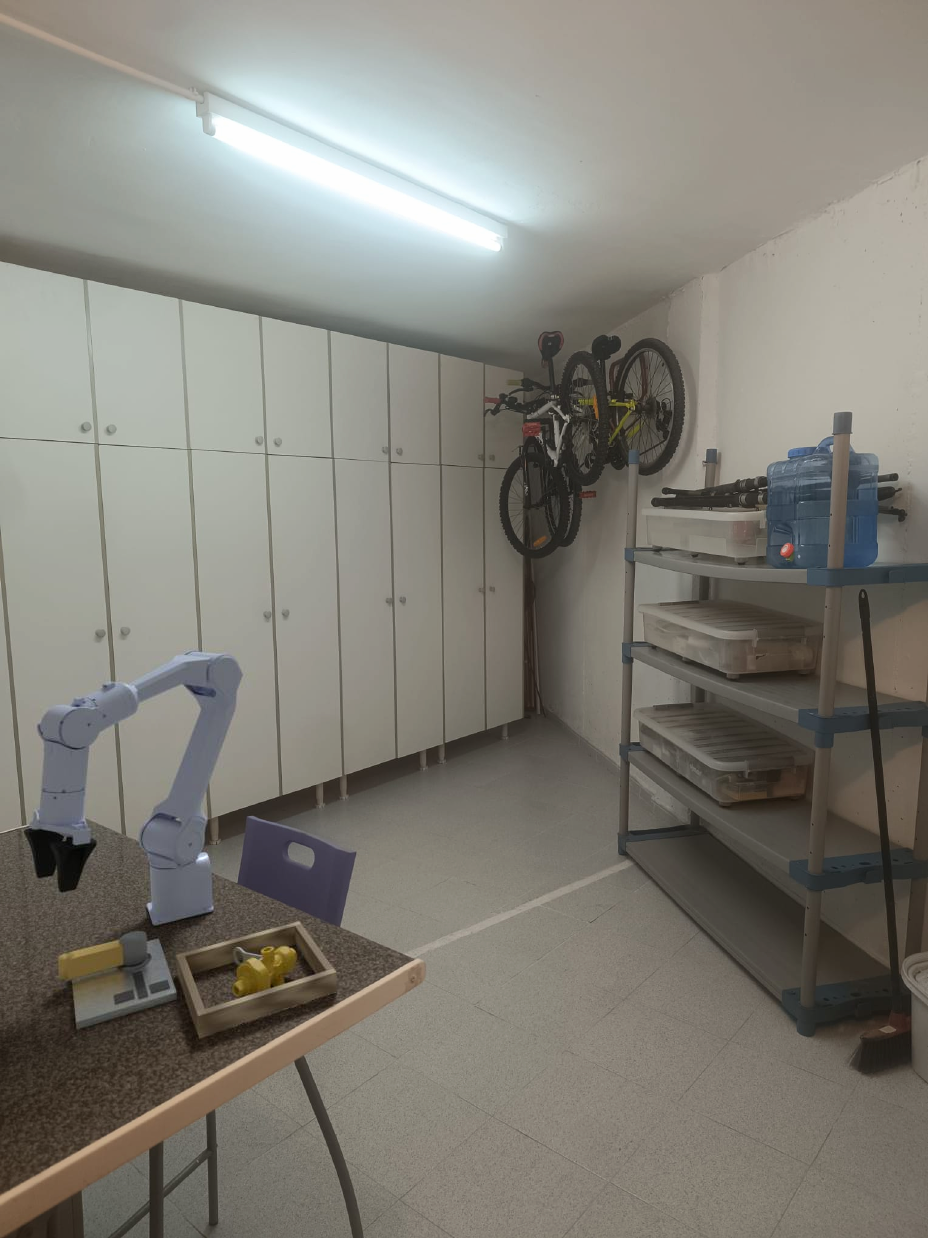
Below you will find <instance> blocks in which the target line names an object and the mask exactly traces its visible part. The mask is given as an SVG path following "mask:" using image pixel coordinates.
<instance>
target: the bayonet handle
mask: <svg viewBox="0 0 928 1238" xmlns="http://www.w3.org/2000/svg"><path fill="white" fill-rule="evenodd" d="M147 941H148V937H147V932H145V931H141V930H135V931H130V932H127V933H125V934H123V935H121V937H119V939H116V940H112V941H109V942H105V943H101V944H96V945H93V946H90V947H85V948H81V949H77V950H73V951H70V952H65V953H62V954H60V955H59V956H58V957H57V962H58V975H59V976H58V978H59V980H60V981H61V980H62V981H65V980H67V979H71V978H75V977H78V976H82V975H86V974H89V973H93V972H97V971H101V970H104V969H108V968H112V967H115V966H119V965H127V966H130V965H136V964H139V963H141V962H143V961H144V960H146V958H147V957H148V953H147Z"/></svg>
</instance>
